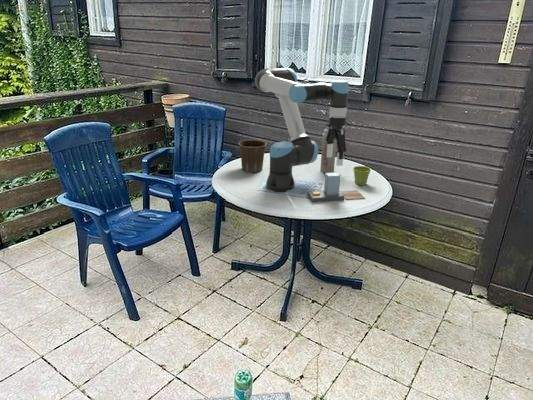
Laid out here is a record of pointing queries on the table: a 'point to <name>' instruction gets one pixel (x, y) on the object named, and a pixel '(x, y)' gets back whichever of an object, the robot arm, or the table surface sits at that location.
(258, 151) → the plant pot
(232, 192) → the table surface
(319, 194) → the dark grey holder
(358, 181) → the plant pot
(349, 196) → the walnut board
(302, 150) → the robot arm
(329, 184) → the light blue tall block
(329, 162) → the thermos bottle
